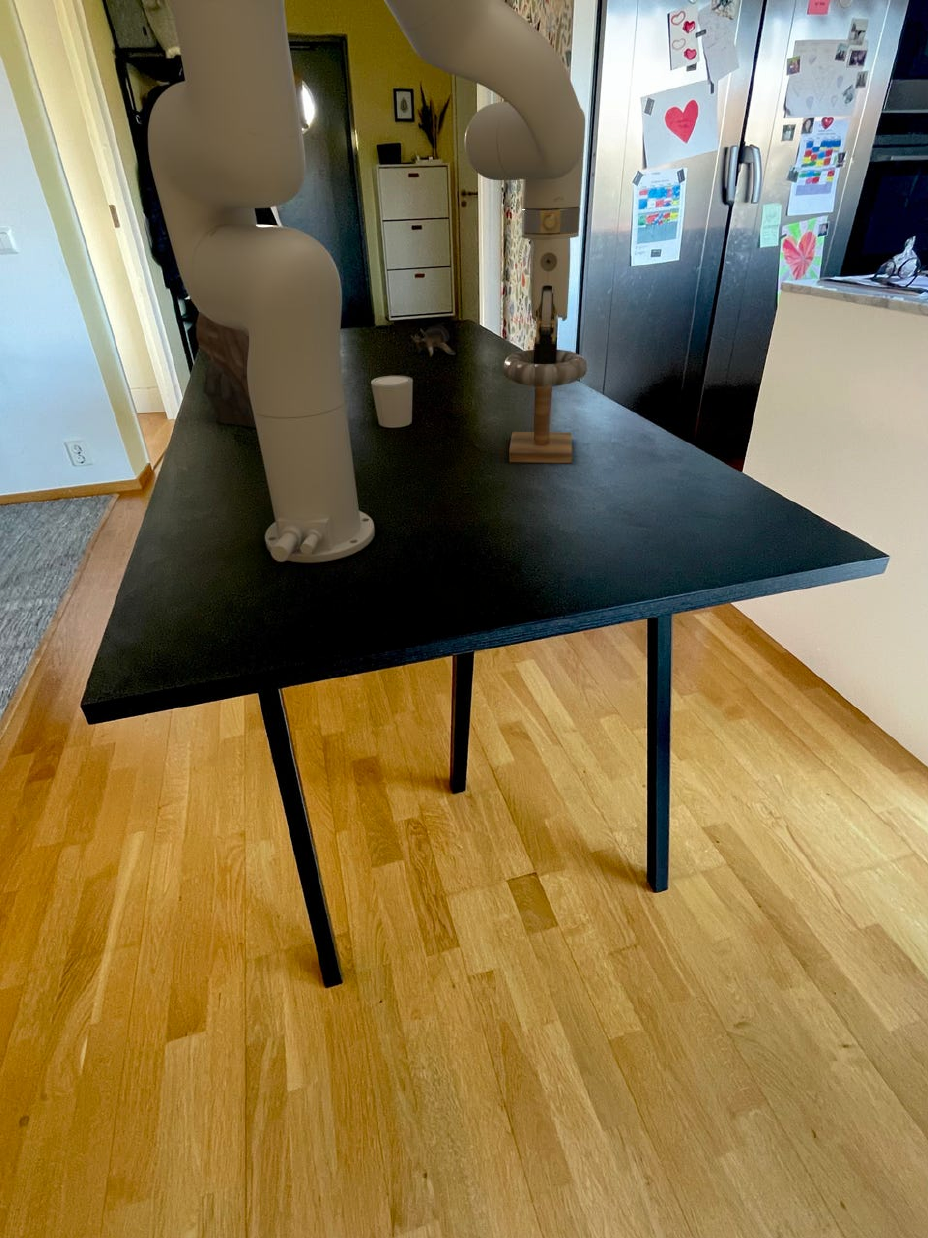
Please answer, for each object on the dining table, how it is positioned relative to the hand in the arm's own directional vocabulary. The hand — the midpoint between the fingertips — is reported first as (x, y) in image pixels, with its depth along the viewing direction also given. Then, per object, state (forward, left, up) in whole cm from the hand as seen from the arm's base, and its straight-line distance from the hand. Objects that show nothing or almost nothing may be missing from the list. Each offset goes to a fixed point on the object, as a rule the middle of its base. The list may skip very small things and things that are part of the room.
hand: (544, 367), depth 97 cm
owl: (+9, +50, -11) cm, 52 cm away
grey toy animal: (+58, +26, -11) cm, 65 cm away
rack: (-5, 0, -11) cm, 12 cm away
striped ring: (-4, 0, +1) cm, 4 cm away
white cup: (+8, +25, -11) cm, 29 cm away
